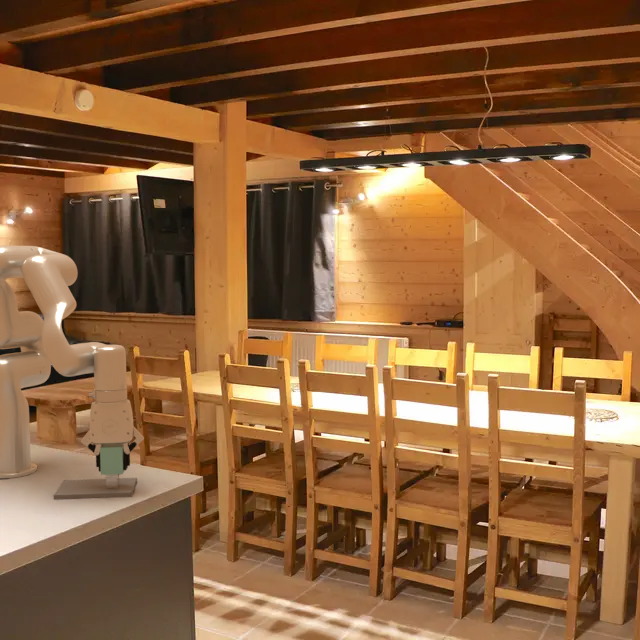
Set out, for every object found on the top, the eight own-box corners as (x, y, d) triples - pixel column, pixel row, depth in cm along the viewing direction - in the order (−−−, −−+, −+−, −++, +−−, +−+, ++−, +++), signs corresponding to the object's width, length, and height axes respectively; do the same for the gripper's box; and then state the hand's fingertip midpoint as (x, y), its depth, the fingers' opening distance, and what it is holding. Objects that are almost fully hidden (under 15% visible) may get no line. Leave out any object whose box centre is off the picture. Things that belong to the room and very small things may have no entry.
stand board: (53, 499, 180) (53, 495, 180) (64, 484, 192) (63, 480, 192) (131, 496, 183) (131, 492, 182) (137, 481, 194) (136, 477, 194)
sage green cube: (100, 474, 183) (99, 448, 183) (104, 468, 188) (103, 442, 188) (122, 474, 184) (122, 447, 183) (125, 468, 189) (124, 441, 189)
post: (106, 488, 185) (106, 466, 185) (108, 485, 188) (107, 463, 187) (117, 488, 186) (117, 466, 185) (119, 484, 188) (118, 463, 188)
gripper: (71, 399, 180) (74, 475, 181) (145, 397, 182) (147, 472, 184) (77, 394, 187) (80, 466, 189) (148, 392, 189) (150, 463, 191)
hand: (113, 468), depth 186 cm, fingers closed on sage green cube, 5 cm apart
